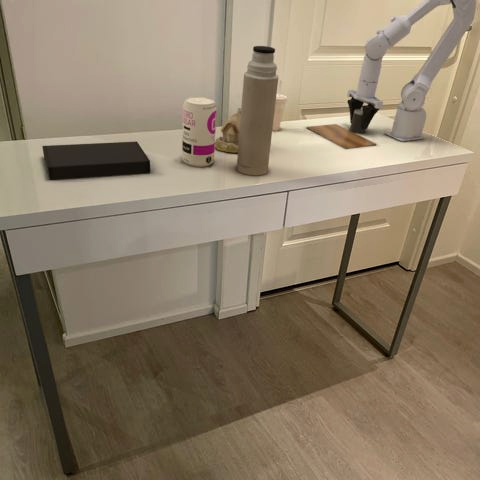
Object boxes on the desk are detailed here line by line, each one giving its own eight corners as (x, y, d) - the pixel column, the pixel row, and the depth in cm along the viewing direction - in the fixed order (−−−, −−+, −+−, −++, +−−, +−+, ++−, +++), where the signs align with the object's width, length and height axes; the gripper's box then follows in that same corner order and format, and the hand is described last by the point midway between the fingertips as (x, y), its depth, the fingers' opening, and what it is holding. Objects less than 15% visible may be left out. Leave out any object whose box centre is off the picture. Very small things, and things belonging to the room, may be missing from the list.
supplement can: (218, 159, 132) (221, 99, 123) (206, 169, 126) (209, 107, 116) (190, 154, 134) (191, 94, 125) (177, 163, 127) (177, 101, 118)
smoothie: (283, 132, 155) (290, 84, 146) (263, 131, 155) (268, 82, 146) (282, 126, 160) (288, 79, 151) (262, 124, 160) (267, 77, 151)
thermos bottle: (230, 167, 128) (238, 44, 111) (251, 161, 133) (263, 42, 116) (252, 177, 124) (264, 51, 107) (274, 171, 129) (289, 49, 112)
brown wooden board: (335, 125, 166) (336, 124, 166) (376, 145, 153) (376, 143, 152) (306, 128, 161) (306, 126, 161) (345, 148, 148) (345, 147, 147)
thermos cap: (358, 128, 166) (362, 108, 162) (368, 132, 162) (373, 112, 159) (346, 129, 164) (350, 109, 160) (356, 134, 160) (361, 113, 156)
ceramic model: (230, 135, 149) (232, 99, 143) (264, 143, 145) (268, 107, 139) (208, 148, 138) (209, 110, 132) (244, 157, 135) (248, 118, 129)
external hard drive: (150, 173, 121) (150, 160, 119) (49, 180, 113) (47, 167, 111) (137, 152, 131) (136, 141, 129) (43, 157, 123) (41, 145, 122)
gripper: (343, 75, 157) (335, 120, 165) (374, 86, 147) (363, 133, 155) (360, 74, 160) (351, 118, 168) (392, 86, 150) (380, 132, 158)
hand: (358, 125), depth 162 cm, fingers closed on thermos cap, 5 cm apart
